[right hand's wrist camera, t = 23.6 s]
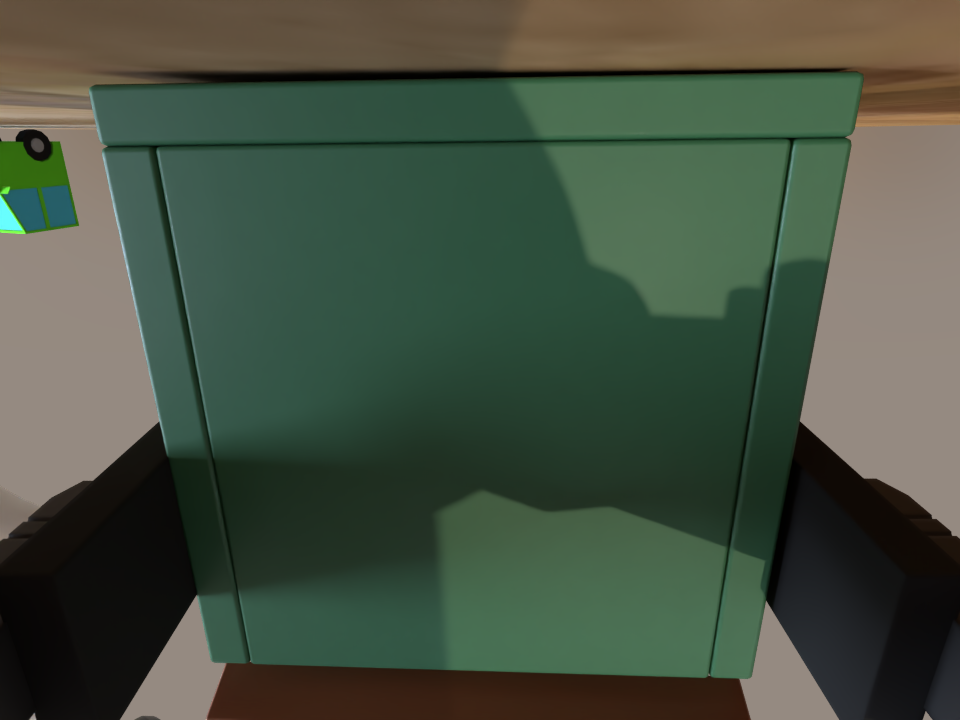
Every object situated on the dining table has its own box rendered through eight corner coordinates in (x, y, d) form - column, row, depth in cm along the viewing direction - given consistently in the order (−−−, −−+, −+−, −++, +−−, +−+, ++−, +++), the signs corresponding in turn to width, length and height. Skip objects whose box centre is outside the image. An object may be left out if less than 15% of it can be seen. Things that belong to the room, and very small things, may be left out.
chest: (629, 113, 22) (612, 363, 25) (364, 117, 22) (382, 361, 26) (868, 70, 7) (753, 681, 10) (84, 84, 8) (209, 664, 11)
